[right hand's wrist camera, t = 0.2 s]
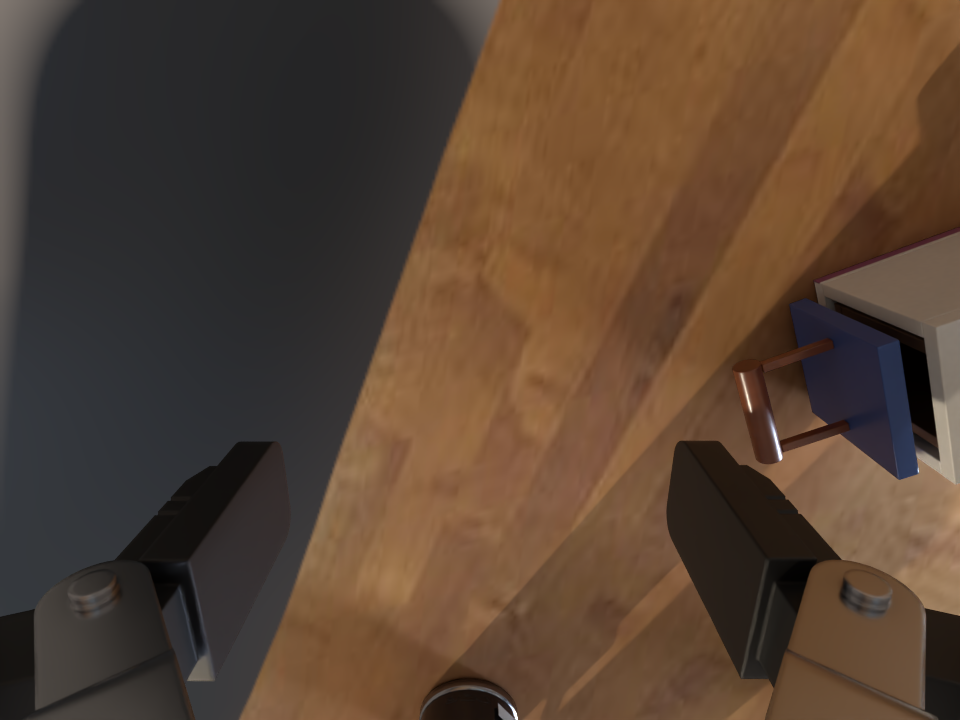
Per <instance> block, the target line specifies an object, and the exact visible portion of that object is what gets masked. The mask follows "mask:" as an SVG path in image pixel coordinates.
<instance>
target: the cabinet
mask: <svg viewBox="0 0 960 720" xmlns="http://www.w3.org/2000/svg"><path fill="white" fill-rule="evenodd" d="M813 281H814V283H815V288H816V293H817V298H818V304H820V305H822V306H824V307H827V308H829V309H831V310H833V311H835V306H834V303H837V302H839V303H842V304H844V305H846V306H849V307H851V308H853V309H856V310H858V311H861V312H863V313H865V314H868V315H870V316H873V317H875V318H877V319H880V320H882V321H885V322H887V323H889V324H892V325H894V326H896V327H899V328H901V329H904V330H906V331H908V332H911V333H913V334H916V335H918V336H920V337H923V338H924V341H925V349H926V356H927V364H928V372H929V379H930V387H931V394H932V402H933V409H934V417H935V425H936V432H937V440H938V447H939V448H937V447H936V446H934V445H933V444H931V443H929V442H928V441H926V440H925V439H923V438H922V437H920V436H919V435H917V434H916V433H914V432H913V437H914V443H915V450H916V457H917V458H918V459H920V460H921V461H923V462H924V463H926V464H927V465H928V466H930V467H931V468H933V469H934V470H936V471H937V472H938V473H940V474H942V475H943V476H944V477H945V478H947V479H948V480H950V481H951V482H952V483H954V484H959V483H960V227H958V228H955V229H952V230H950V231H947V232H944V233H941V234H939V235H936V236H933V237H931V238H928V239H925V240H922V241H920V242H917V243H914V244H911V245H909V246H906V247H903V248H900V249H898V250H895V251H892V252H890V253H887V254H884V255H881V256H879V257H876V258H873V259H870V260H868V261H865V262H862V263H859V264H857V265H854V266H851V267H849V268H846V269H843V270H840V271H838V272H835V273H832V274H829V275H827V276H824V277H821V278H818V279H816V280H813ZM835 312H836V311H835Z"/></svg>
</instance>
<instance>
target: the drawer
mask: <svg viewBox="0 0 960 720" xmlns="http://www.w3.org/2000/svg"><path fill="white" fill-rule="evenodd" d="M789 306H790V310H791V315H792V320H793V324H794V329H795V334H796V338H797V343H798V348H797V349H795V350H792V351H789V352H786V353H783V354H780V355H777V356H775V357H772V358H769V359H766V360H763V361H760V362H759V361H758V360H753V359H749V360H743V361H740V362H738V363H736V364H735V365H734V366H733V368H732V370H733V373H734V377H735V381H736V385H737V389H738V392H739V396H740V400H741V404H742V408H743V411H744V415H745V419H746V423H747V427H748V431H749V434H750V438H751V442H752V446H753V450H754V453H755V457H756V460H757V461H758V462H760V463H762V464H774V463H777V462H779V461H780V460H781V459H782V458H783V453H782V451H783V452H786V451H789V450H792V449H795V448H798V447H801V446H804V445H807V444H810V443H813V442H816V441H819V440H822V439H825V438H828V437H832V436H835V435H838V434H841V435H842V436H844V437H845V438H846V439H847V440H849V441H850V442H851V443H853V444H854V445H855V446H856V447H858V448H859V449H860V450H861V451H863V452H864V453H865V454H867V455H868V456H869V457H870V458H872V459H873V460H874V461H876V462H877V463H878V464H879V465H881V466H882V467H883V468H884V469H886V470H887V471H888V472H890V473H891V474H892V475H893V476H895V477H896V478H897V479H899V480H900V479H904V478H907V477H910V476H913V475H916V474H919V470H918V464H917V457H916V450H915V443H914V437H913V432H914V433H916V434H917V435H919V436H920V437H922V438H923V439H925V440H926V441H928V442H929V443H931V444H933V445H934V446H936V447H937V448H939V447H938V440H937V432H936V425H935V417H934V409H933V402H932V394H931V387H930V379H929V372H928V364H927V356H926V349H925V341H924V338H923V337H920V336H918V335H916V334H913V333H911V332H908V331H906V330H904V329H901V328H899V327H896V326H894V325H892V324H889V323H887V322H885V321H882V320H880V319H877V318H875V317H873V316H870V315H868V314H865V313H863V312H861V311H858V310H856V309H853V308H851V307H849V306H846V305H844V304H842V303H839V302H837V303H834V306H835V311H836V312H835V311H833V310H831V309H829V308H827V307H824V306H822V305H820V304H818V303H815V302H813V301H811V300H809V299H806V298H805V299H802V300H799V301H797V302H794V303H791V304H789ZM800 360H801V361H802V366H803V371H804V375H805V380H806V385H807V389H808V394H809V399H810V403H811V408H812V412H813V413H814V414H815V415H817V416H818V417H819V418H821V419H822V420H823V421H824V422H826V423H827V424H828V425H826V426H823V427H820V428H817V429H814V430H811V431H808V432H805V433H802V434H799V435H796V436H793V437H790V438H787V439H784V440H781V441H779V437H778V433H777V428H776V424H775V420H774V416H773V412H772V408H771V404H770V400H769V396H768V391H767V387H766V383H765V379H764V375H763V372H764V373H765V372H768V371H771V370H774V369H777V368H780V367H783V366H785V365H788V364H791V363H794V362H797V361H800Z"/></svg>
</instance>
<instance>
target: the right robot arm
mask: <svg viewBox="0 0 960 720" xmlns="http://www.w3.org/2000/svg"><path fill="white" fill-rule="evenodd" d="M290 516H291V511H290V502H289V494H288V487H287V480H286V473H285V465H284V458H283V452H282V448H281V446H280V444H279V443H278V442H238V443H237V444H235V446H234V447H233V448H232V449H231V450H230V452H229V453H228V454H227V455H226V456H225V457H224V459H223V460H222V461H221V462H220V463H219V465H218V466H209V467H208V468H206V469H204V470H203V471H201V472H199V473H198V474H196V475H195V476H193V477H191V478H190V479H188V480H186V481H185V482H184V484H183V485H182V486H181V487H180V488H179V489H178V490H177V491H176V493H175V494H174V495H173V496H172V497H171V501H167V503H166V504H165V505H164V506H163V507H162V508H161V509H160V510H159V511H158V515H155V516H154V517H153V518H152V519H151V520H150V521H149V523H148V524H147V525H146V526H145V527H144V528H143V529H142V530H141V532H140V533H139V534H138V535H137V536H136V537H135V538H134V539H133V540H132V541H131V543H130V544H129V545H128V546H127V547H126V548H125V549H124V550H123V552H122V553H121V554H120V555H119V556H118V557H117V558H116V559H115V560H114V561H108V562H103V563H99V564H96V565H93V566H90V567H87V568H85V569H82V570H80V571H78V572H76V573H74V574H72V575H70V576H68V577H67V578H65V579H63V580H62V581H60V582H59V583H57V584H56V585H55V586H53V587H52V588H51V589H50V590H49V591H48V592H47V593H46V594H45V595H44V596H43V597H42V598H41V600H40V601H39V603H38V604H37V606H36V609H33V610H29V611H25V612H20V613H16V614H11V615H6V616H2V617H0V720H195V717H194V714H193V710H192V707H191V704H190V700H189V697H188V693H187V690H186V687H185V683H186V681H215V679H216V677H217V675H218V673H219V671H220V669H221V667H222V665H223V663H224V661H225V659H226V657H227V655H228V654H229V652H230V649H231V648H232V646H233V643H234V642H235V640H236V638H237V636H238V634H239V632H240V630H241V628H242V626H243V624H244V622H245V620H246V618H247V616H248V614H249V612H250V610H251V608H252V606H253V604H254V602H255V600H256V598H257V596H258V594H259V592H260V590H261V588H262V586H263V584H264V582H265V580H266V578H267V576H268V574H269V572H270V570H271V568H272V566H273V564H274V562H275V560H276V558H277V556H278V554H279V552H280V550H281V548H282V546H283V544H284V542H285V540H286V538H287V535H288V531H289V526H290ZM667 524H668V530H669V533H670V536H671V539H672V541H673V543H674V545H675V547H676V549H677V551H678V553H679V555H680V557H681V559H682V561H683V563H684V565H685V567H686V569H687V571H688V573H689V575H690V577H691V579H692V581H693V583H694V585H695V587H696V589H697V591H698V593H699V595H700V597H701V599H702V601H703V603H704V605H705V607H706V609H707V611H708V613H709V615H710V617H711V619H712V621H713V623H714V625H715V627H716V630H717V632H718V634H719V636H720V638H721V640H722V642H723V644H724V646H725V648H726V650H727V652H728V654H729V656H730V658H731V660H732V662H733V664H734V666H735V668H736V670H737V672H738V674H739V676H740V678H741V679H769V680H770V682H771V684H772V686H773V687H774V690H773V693H772V697H771V700H770V704H769V707H768V710H767V714H766V717H765V720H960V616H958V615H953V614H948V613H944V612H939V611H935V610H930V609H926V608H924V606H923V604H922V603H921V601H920V600H919V598H918V597H917V596H916V595H915V594H914V593H913V592H912V591H911V590H910V589H909V588H908V587H907V586H905V585H904V584H903V583H901V582H900V581H898V580H897V579H895V578H893V577H892V576H890V575H888V574H886V573H884V572H882V571H880V570H878V569H875V568H873V567H870V566H867V565H864V564H861V563H857V562H852V561H846V560H841V558H840V557H839V556H838V555H837V554H836V553H835V552H834V551H833V549H832V548H831V547H830V546H829V545H828V544H827V543H826V542H825V540H824V539H823V538H822V537H821V536H820V535H819V534H818V533H817V531H816V530H815V529H814V528H813V527H812V526H811V525H810V524H809V523H808V521H807V520H806V519H805V518H804V517H803V516H802V515H801V514H798V510H797V509H796V508H795V507H794V506H793V505H792V503H791V502H790V501H789V500H786V499H785V496H784V494H783V493H782V492H781V491H780V490H779V489H778V488H777V487H776V485H775V484H774V483H773V482H772V481H771V480H770V479H769V478H767V477H765V476H764V475H762V474H760V473H759V472H757V471H756V470H754V469H752V468H751V467H749V466H747V465H739V464H738V463H737V462H736V461H735V459H734V458H733V457H732V456H731V455H730V453H729V452H728V451H727V450H726V449H725V447H724V446H723V445H722V444H721V443H720V442H719V441H679V442H678V443H677V445H676V447H675V451H674V458H673V465H672V472H671V479H670V487H669V494H668V501H667ZM419 720H518V718H517V708H516V705H515V703H514V701H513V699H512V698H511V696H510V695H509V694H508V693H507V692H506V691H504V690H503V689H502V688H500V687H498V686H497V685H494V684H492V683H490V682H486V681H482V680H476V679H460V680H454V681H450V682H447V683H445V684H442V685H440V686H438V687H437V688H435V689H434V690H432V691H431V692H430V693H429V694H428V695H427V696H426V698H425V699H424V701H423V703H422V706H421V710H420V719H419Z"/></svg>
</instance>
